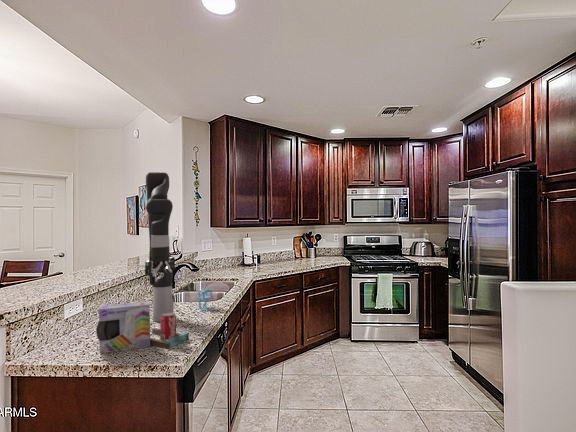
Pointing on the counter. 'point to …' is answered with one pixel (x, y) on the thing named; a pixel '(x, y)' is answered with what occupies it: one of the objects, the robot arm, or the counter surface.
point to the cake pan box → (124, 326)
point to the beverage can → (167, 326)
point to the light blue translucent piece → (204, 298)
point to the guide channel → (169, 342)
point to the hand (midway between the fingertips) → (160, 283)
